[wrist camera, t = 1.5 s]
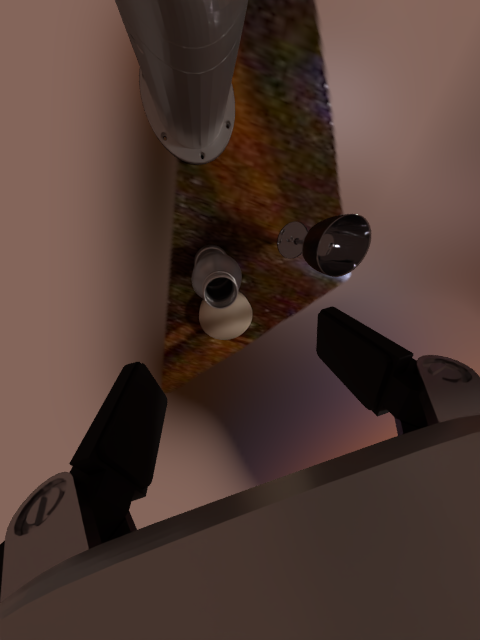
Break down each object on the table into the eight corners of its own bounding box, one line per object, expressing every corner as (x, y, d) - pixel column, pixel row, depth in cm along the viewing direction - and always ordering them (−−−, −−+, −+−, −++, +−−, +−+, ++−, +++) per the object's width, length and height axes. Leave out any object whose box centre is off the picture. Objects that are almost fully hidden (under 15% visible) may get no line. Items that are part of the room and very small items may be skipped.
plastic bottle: (187, 260, 34) (172, 294, 16) (211, 235, 33) (223, 244, 15) (210, 283, 37) (218, 332, 20) (233, 261, 36) (263, 292, 18)
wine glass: (299, 209, 33) (361, 197, 21) (316, 242, 37) (377, 250, 24) (268, 238, 35) (308, 245, 22) (287, 267, 39) (331, 287, 26)
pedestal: (192, 295, 37) (191, 300, 35) (244, 281, 38) (247, 285, 36) (207, 338, 43) (208, 345, 41) (252, 325, 44) (255, 331, 42)
